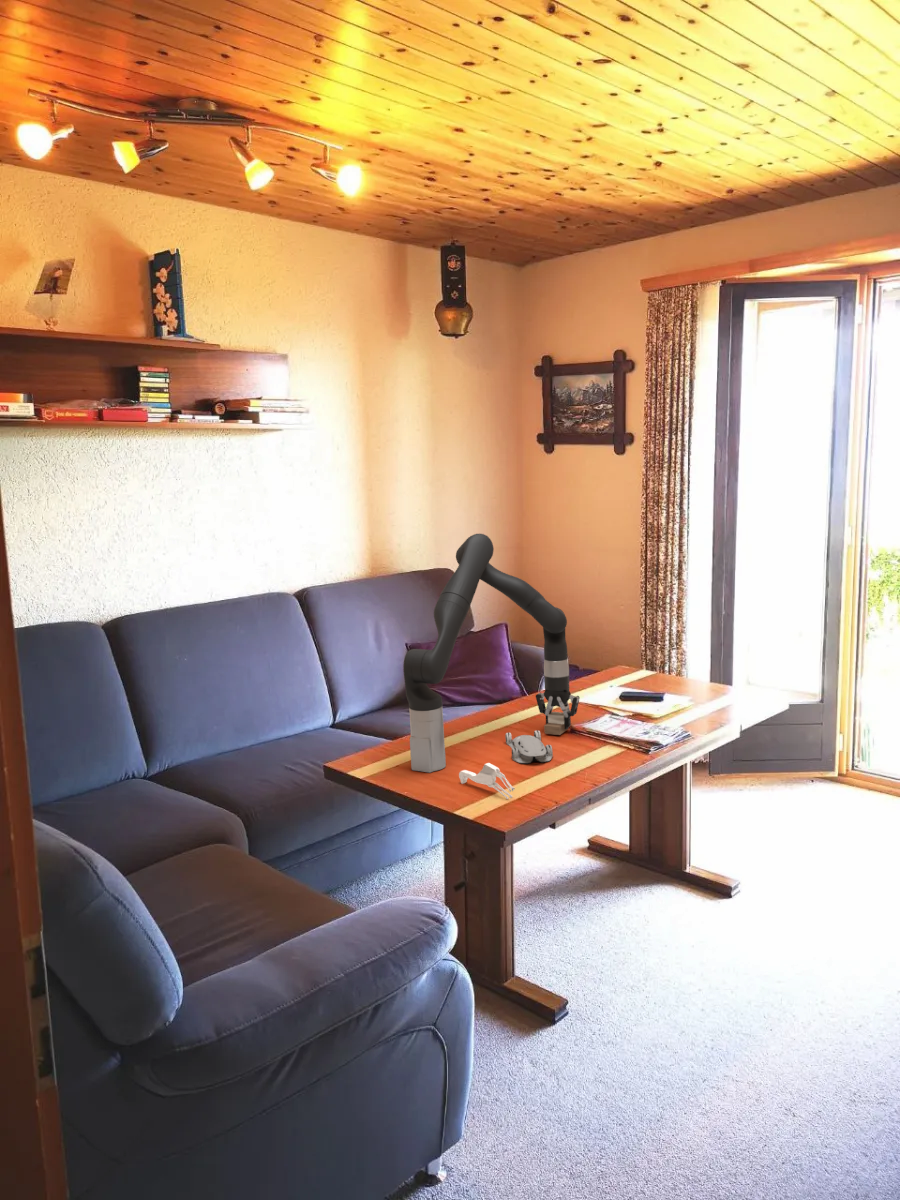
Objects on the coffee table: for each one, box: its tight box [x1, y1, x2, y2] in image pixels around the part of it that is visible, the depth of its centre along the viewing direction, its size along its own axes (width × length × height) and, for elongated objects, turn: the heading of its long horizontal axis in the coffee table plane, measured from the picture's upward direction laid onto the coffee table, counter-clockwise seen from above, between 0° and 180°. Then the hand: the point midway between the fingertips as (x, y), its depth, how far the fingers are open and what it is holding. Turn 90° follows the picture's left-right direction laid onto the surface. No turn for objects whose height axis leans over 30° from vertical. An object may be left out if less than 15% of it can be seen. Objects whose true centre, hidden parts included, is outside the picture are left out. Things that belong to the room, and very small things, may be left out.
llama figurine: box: [458, 762, 516, 800], centre depth 236 cm, size 2×11×18 cm
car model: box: [505, 729, 553, 765], centre depth 265 cm, size 11×24×5 cm, turn 5°
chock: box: [543, 711, 570, 736], centre depth 281 cm, size 7×5×5 cm
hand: (558, 727), depth 283 cm, fingers closed on chock, 5 cm apart
